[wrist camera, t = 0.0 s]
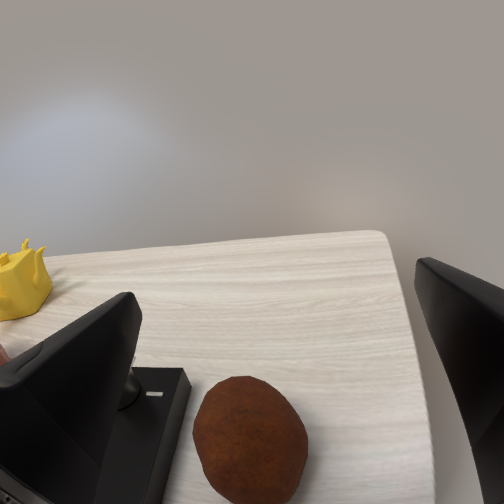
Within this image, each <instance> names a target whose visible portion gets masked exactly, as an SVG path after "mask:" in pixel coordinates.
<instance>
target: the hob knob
mask: <svg viewBox="0 0 504 504" xmlns="http://www.w3.org/2000/svg"><path fill="white" fill-rule="evenodd" d="M139 391H140V383H139V381H138V379H137V377H136V375H135V374H134V372H133V370H132V369H131V367H130V370H129V373H128V377H127V380H126V383H125V386H124V390H123V393H122V396H121V400H120V403H119V407H118V410H119V409H122V408H124V407H126V406H128V405H129V404H131V403H132V402H133V401H134V400H135V399H136V397H137V396H138V394H139Z"/></svg>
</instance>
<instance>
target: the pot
mask: <svg viewBox="0 0 504 504" xmlns="http://www.w3.org/2000/svg"><path fill="white" fill-rule="evenodd" d="M9 361H11V359H10V357H9V356H8V355H7V353H6V352H5V350H4V349H3V347H2V345H1V344H0V366H2V365H4V364H5V363H7V362H9Z"/></svg>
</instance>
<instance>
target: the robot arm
mask: <svg viewBox="0 0 504 504" xmlns="http://www.w3.org/2000/svg"><path fill="white" fill-rule="evenodd" d="M414 285H415V291H416V294H417V296H418V300H419V302H420V306H421V309H422V311H423V314H424V318H425V321H426V324H427V327H428V330H429V332H430V335H431V337H432V339H433V342H434V344H435V346H436V349H437V351H438V354H439V356H440V358H441V361H442V363H443V366H444V368H445V371H446V374H447V376H448V379H449V382H450V384H451V387H452V390H453V393H454V395H455V398H456V401H457V404H458V407H459V410H460V413H461V416H462V419H463V422H464V425H465V429H466V432H467V435H468V439H469V442H470V446H471V447H472V453H473V457H474V461H475V465H476V469H477V473H478V477H479V481H480V486H481V491H482V495H483V501H484V504H504V289H502V288H499V287H497V286H495V285H493V284H491V283H489V282H486V281H484V280H482V279H480V278H477V277H475V276H473V275H471V274H468V273H466V272H464V271H461V270H459V269H457V268H454V267H452V266H450V265H447V264H445V263H442V262H440V261H438V260H436V259H433V258H430V257H425V258H420V259H418V260H417V263H416V271H415V280H414ZM141 322H142V312H141V309H140V307H139V305H138V302H137V300H136V298H135V295H134V294H133V293H132V292H122V293H119V294H118V295H116V296H114V297H113V298H111V299H110V300H108V301H106V302H105V303H103V304H101V305H100V306H98V307H96V308H95V309H93V310H91V311H90V312H88V313H87V314H85V315H83V316H82V317H80V318H78V319H77V320H75V321H74V322H72V323H70V324H69V325H67V326H66V327H64V328H62V329H61V330H59V331H58V332H56V333H54V334H53V335H51V336H50V337H48V338H46V339H45V340H44V341H42V342H40V343H39V344H37V345H35V346H34V347H32V348H31V349H29V350H27V351H26V352H24V353H22V354H21V355H19V356H17V357H16V358H14V359H12V360H11V361H9V362H7V363H5V364H4V365H2V366H0V504H95V499H96V494H97V490H98V485H99V481H100V476H101V472H102V466H103V463H104V459H105V455H106V451H107V447H108V443H109V439H110V435H111V432H112V428H113V424H114V421H115V417H116V414H117V410H118V407H119V403H120V400H121V396H122V393H123V390H124V386H125V383H126V380H127V377H128V373H129V370H130V367H131V364H132V361H133V357H134V353H135V349H136V344H137V340H138V335H139V331H140V326H141Z"/></svg>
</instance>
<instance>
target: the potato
mask: <svg viewBox="0 0 504 504" xmlns="http://www.w3.org/2000/svg"><path fill="white" fill-rule="evenodd" d="M192 435H193V439H194V443H195V446H196V450H197V453H198V455H199V458H200V461H201V463H202V467H203V471H204V474H205V476H206V478H207V479H208V481H209V483H210V484H211V486H212V487H213V488H214V489H215V490H216V491H217V492H218V493H219V494H221V495H222V496H223V497H225V498H226V499H228V500H229V501H230V502H232V503H233V504H284V503H286V502H288V501H289V500H290V499H291V497H292V495H293V494H294V492H295V490H296V488H297V487H298V485H299V482H300V479H301V476H302V472H303V469H304V466H305V463H306V460H307V456H308V437H307V433H306V430H305V427H304V425H303V423H302V421H301V419H300V417H299V415H298V414H297V413H296V411H295V410H294V409H293V407H292V406H291V405H290V403H289V402H288V401H287V400H286V398H285V397H284V396H283V395H282V394H281V393H280V392H279V391H278V390H277V389H275V388H274V387H272V386H271V385H269V384H268V383H266V382H265V381H262V380H259V379H257V378H254V377H251V376H237V377H230V378H228V379H226V380H224V381H221V382H218V383H217V384H216V385H215V386H214V387H213V388H212V389H210V390H209V391H208V392H207V394H206V395H205V397H204V399H203V402H202V404H201V406H200V409H199V411H198V414H197V416H196V419H195V421H194V426H193V433H192Z"/></svg>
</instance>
